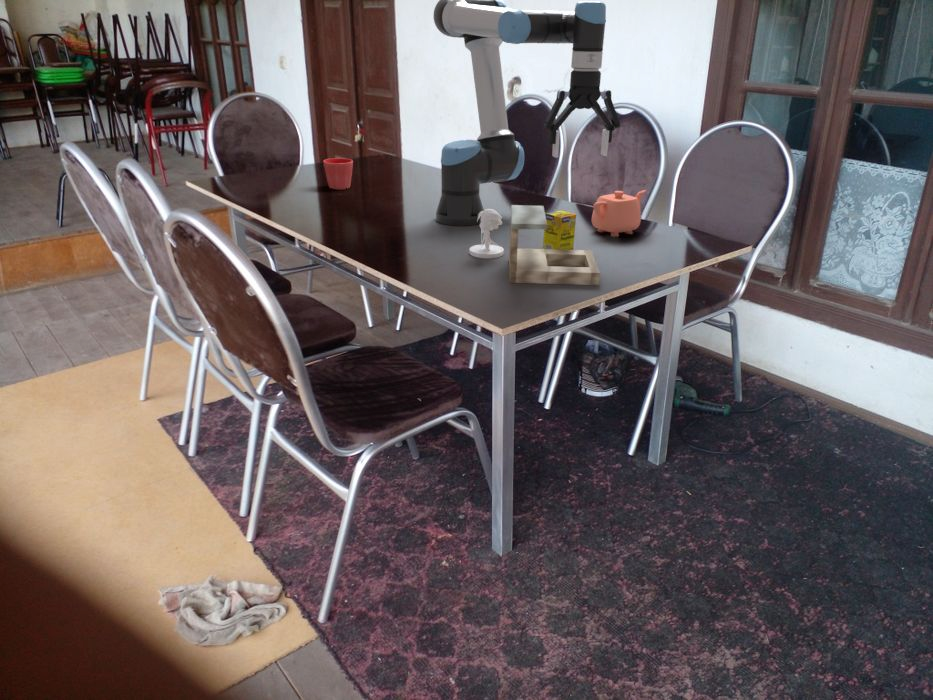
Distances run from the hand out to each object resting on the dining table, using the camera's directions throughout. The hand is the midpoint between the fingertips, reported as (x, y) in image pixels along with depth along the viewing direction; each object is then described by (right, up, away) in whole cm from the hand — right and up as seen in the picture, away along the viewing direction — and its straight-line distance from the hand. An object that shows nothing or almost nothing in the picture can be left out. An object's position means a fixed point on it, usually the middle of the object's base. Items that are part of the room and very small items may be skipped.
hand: (579, 156), depth 186 cm
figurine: (-25, -26, +1) cm, 36 cm away
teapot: (+15, -16, +22) cm, 31 cm away
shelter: (-9, -32, -12) cm, 35 cm away
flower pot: (-77, +9, +73) cm, 106 cm away
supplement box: (-6, -26, +2) cm, 27 cm away
